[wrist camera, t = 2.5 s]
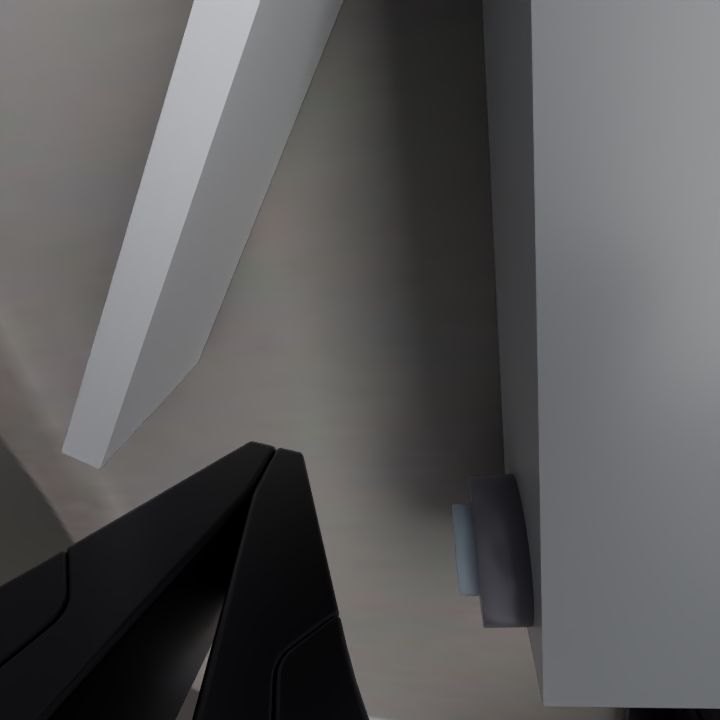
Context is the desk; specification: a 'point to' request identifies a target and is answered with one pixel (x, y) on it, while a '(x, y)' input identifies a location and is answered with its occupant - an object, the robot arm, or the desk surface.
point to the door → (195, 205)
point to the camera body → (604, 349)
